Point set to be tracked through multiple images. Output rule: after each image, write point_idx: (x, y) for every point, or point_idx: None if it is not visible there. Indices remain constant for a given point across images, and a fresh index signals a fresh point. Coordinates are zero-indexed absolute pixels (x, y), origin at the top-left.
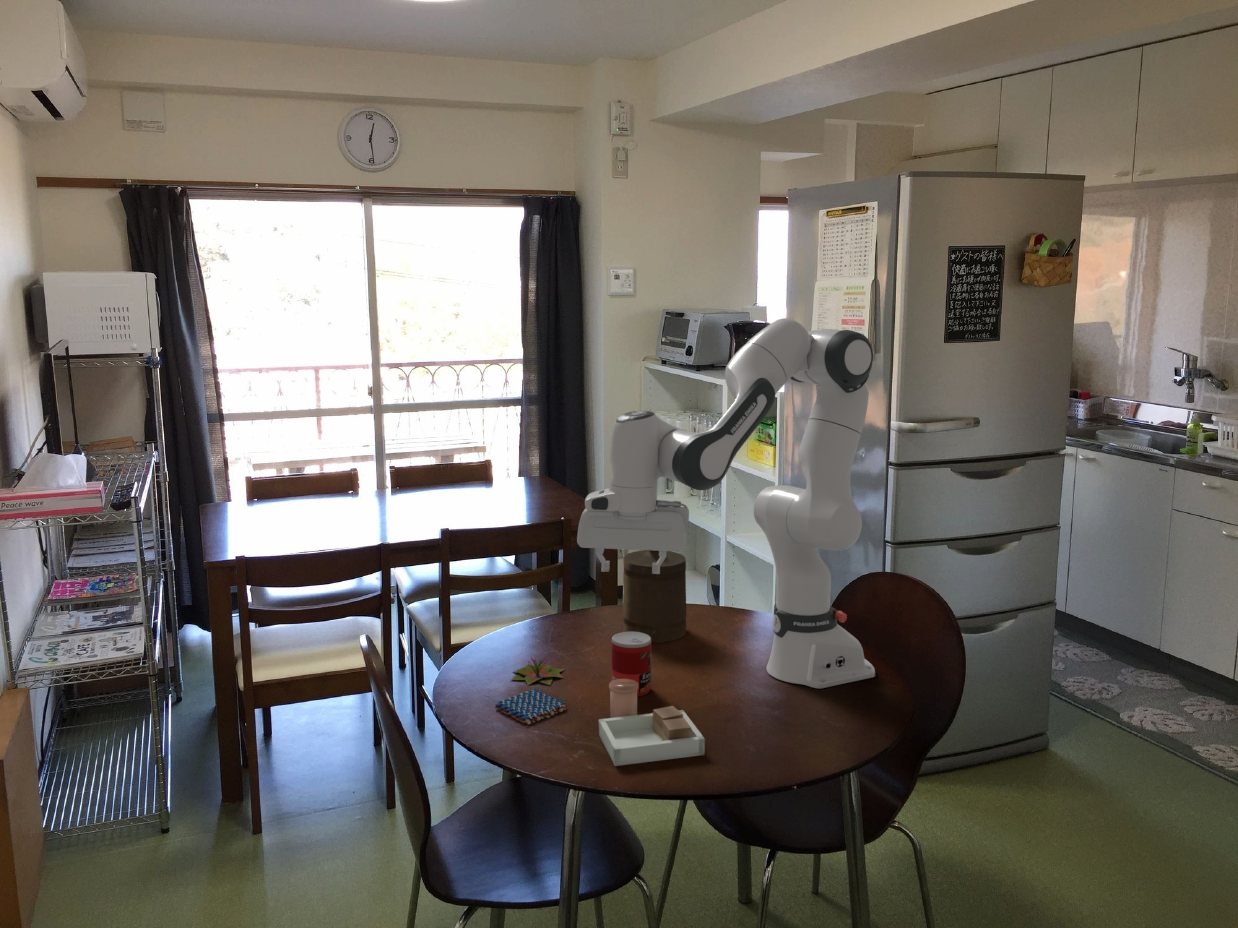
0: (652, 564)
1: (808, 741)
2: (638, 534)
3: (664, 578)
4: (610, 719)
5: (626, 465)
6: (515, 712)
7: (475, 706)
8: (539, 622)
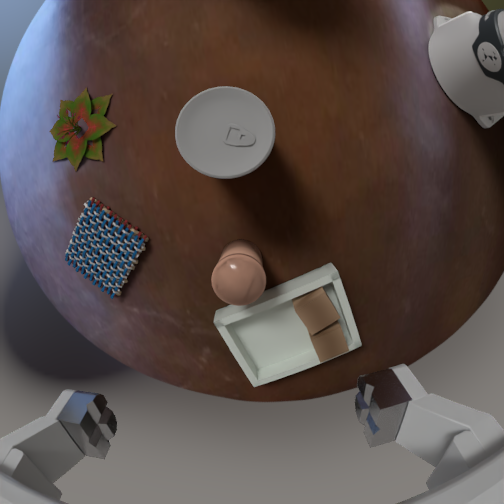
0: (372, 440)
1: (460, 276)
2: None
3: None
4: (230, 319)
5: None
6: (95, 283)
7: (48, 252)
8: None
